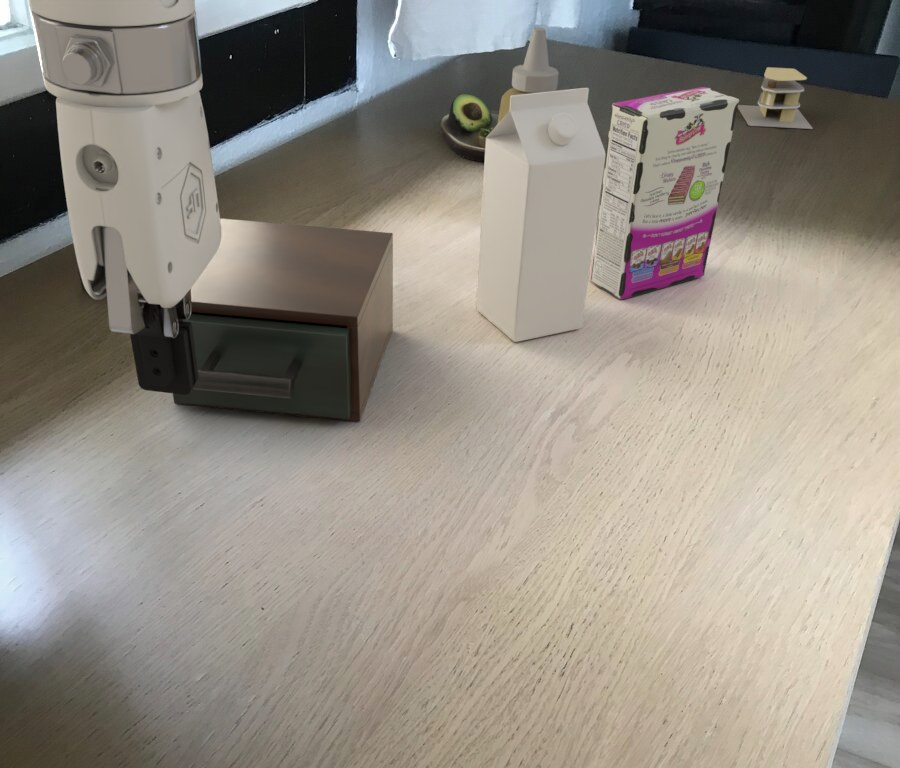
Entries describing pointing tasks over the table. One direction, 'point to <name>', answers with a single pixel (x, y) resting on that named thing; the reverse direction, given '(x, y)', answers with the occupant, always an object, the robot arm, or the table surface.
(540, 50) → the squeeze bottle
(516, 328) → the milk carton
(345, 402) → the drawer
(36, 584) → the table surface
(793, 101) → the stacked layers on plate
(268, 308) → the cabinet
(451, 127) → the salad plate
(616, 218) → the candy bar box
